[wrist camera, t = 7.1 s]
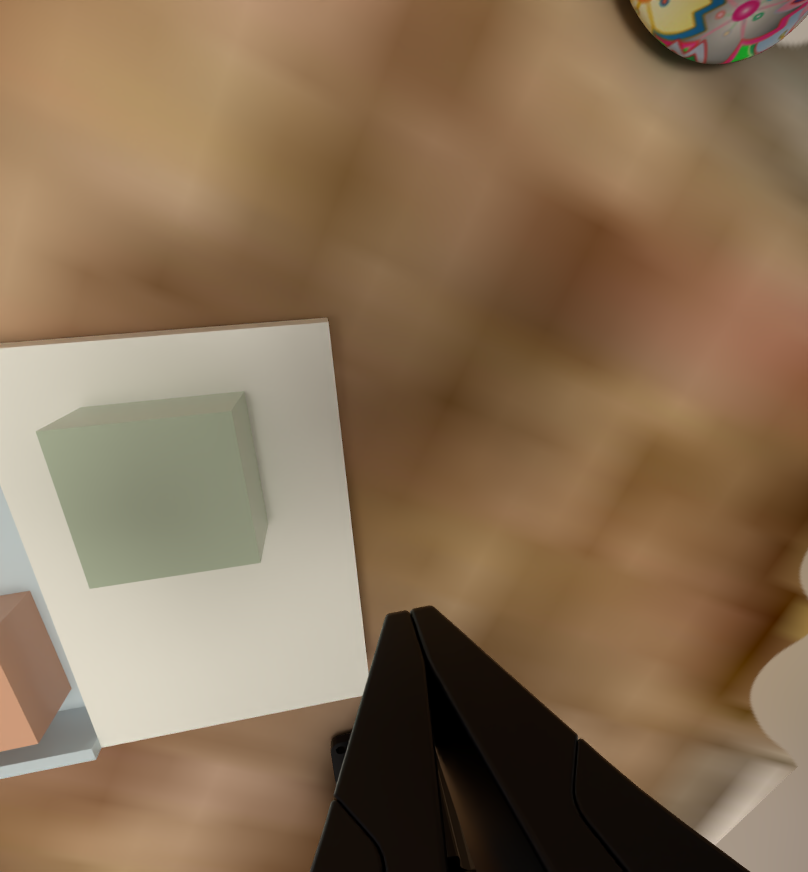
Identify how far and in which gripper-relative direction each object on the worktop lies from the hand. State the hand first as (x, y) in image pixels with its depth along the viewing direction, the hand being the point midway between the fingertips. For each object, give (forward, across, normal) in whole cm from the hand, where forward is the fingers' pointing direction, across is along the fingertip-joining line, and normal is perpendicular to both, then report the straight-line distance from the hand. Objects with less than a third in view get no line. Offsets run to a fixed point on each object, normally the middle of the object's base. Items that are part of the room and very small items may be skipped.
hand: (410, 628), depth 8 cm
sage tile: (+9, +6, 0) cm, 11 cm away
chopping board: (+11, +6, +3) cm, 13 cm away
